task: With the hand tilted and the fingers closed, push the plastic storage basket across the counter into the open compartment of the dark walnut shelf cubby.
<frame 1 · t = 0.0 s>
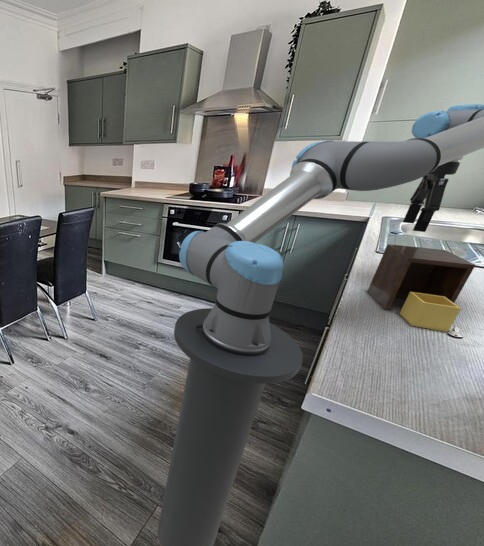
hand: (413, 226, 105), 18 cm above the worktop, tool pointing down, fingers open, 13 cm apart
basket: (422, 322, 84), on the worktop
shelf: (402, 304, 93), on the worktop
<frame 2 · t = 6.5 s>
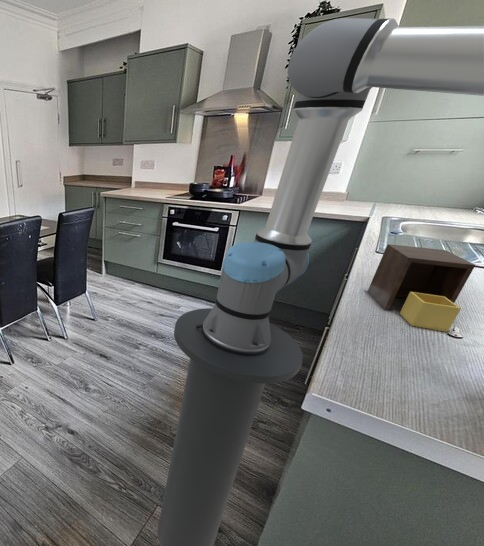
nothing on the worktop moved.
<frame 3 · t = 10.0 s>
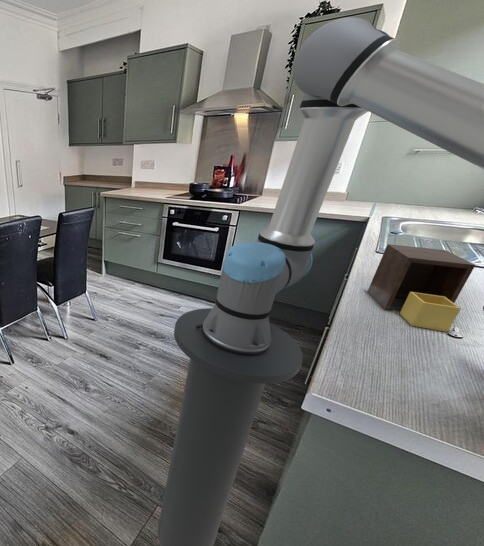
nothing on the worktop moved.
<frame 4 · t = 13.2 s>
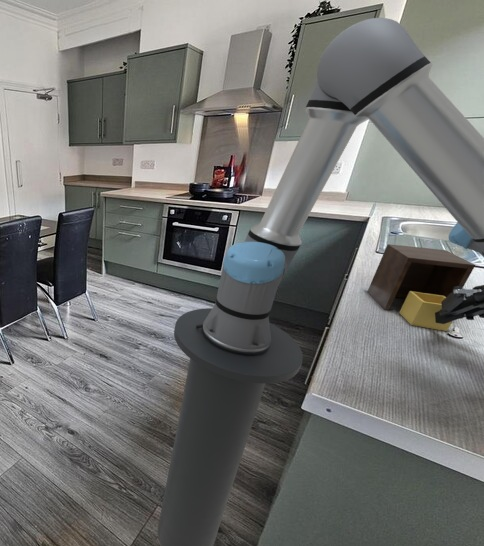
hand: (439, 318, 79), 4 cm above the worktop, tool tilted 45°, fingers closed
basket: (421, 321, 84), on the worktop, touching gripper
everything else where it was.
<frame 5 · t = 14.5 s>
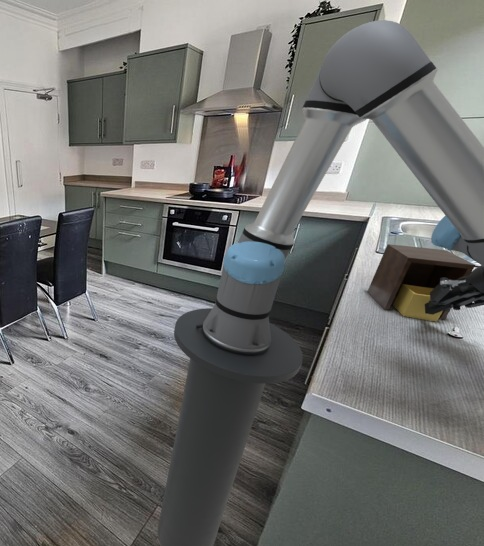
hand: (428, 309, 83), 4 cm above the worktop, tool tilted 45°, fingers closed
basket: (413, 313, 88), on the worktop, touching gripper
everything else where it was.
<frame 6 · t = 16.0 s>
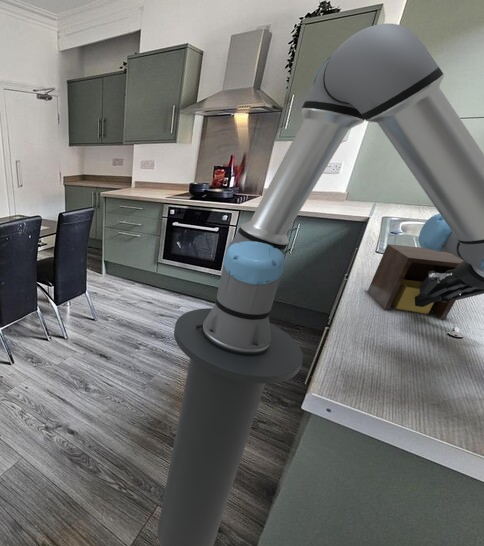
hand: (418, 301, 87), 4 cm above the worktop, tool tilted 45°, fingers closed
basket: (406, 305, 92), on the worktop, touching gripper
everything else where it was.
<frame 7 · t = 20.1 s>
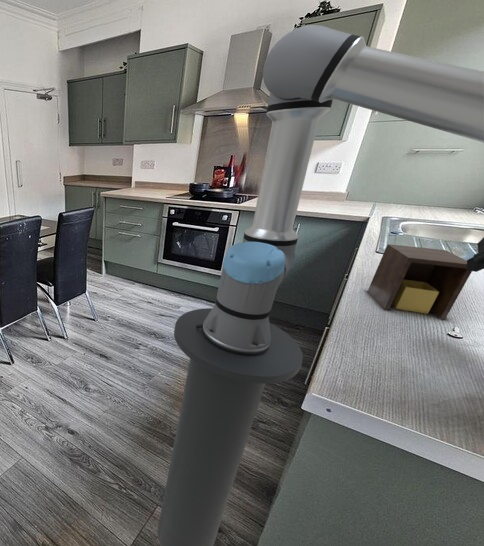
hand: (471, 265, 71), 19 cm above the worktop, tool tilted 45°, fingers closed
basket: (405, 305, 92), on the worktop
everything else where it was.
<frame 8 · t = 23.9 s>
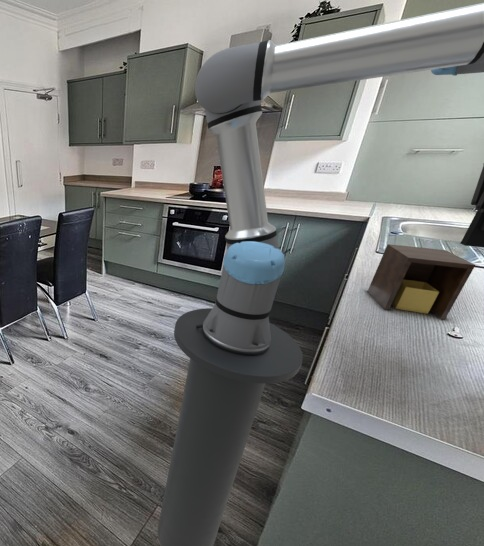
hand: (472, 245, 60), 26 cm above the worktop, tool pointing down, fingers closed
nothing on the worktop moved.
at the end: basket 0.9 cm from the shelf (horizontally); basket tilted 0°; basket moved 10.2 cm from its start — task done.
